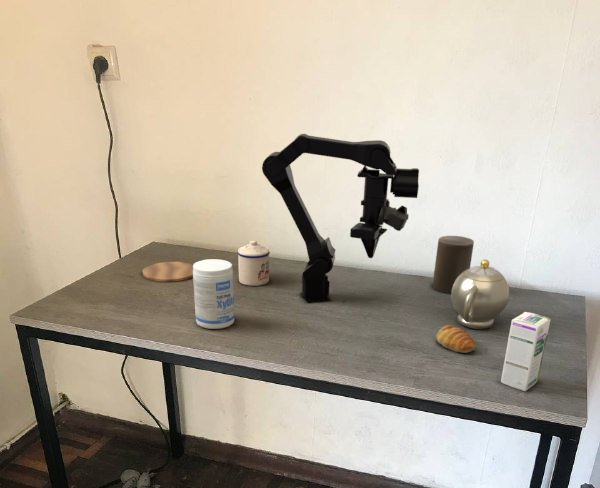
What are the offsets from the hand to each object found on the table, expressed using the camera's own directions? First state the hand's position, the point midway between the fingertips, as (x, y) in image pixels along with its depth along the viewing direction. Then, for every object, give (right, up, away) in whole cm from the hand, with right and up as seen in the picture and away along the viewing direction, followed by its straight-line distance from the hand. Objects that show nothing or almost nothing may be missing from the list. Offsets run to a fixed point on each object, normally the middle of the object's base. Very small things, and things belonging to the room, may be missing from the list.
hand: (370, 257), depth 165 cm
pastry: (+18, -24, -17) cm, 35 cm away
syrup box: (+27, -34, -33) cm, 54 cm away
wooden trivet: (-57, +1, +23) cm, 61 cm away
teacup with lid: (-31, -2, +19) cm, 37 cm away
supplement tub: (-39, -18, -8) cm, 44 cm away
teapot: (+25, -19, -7) cm, 32 cm away
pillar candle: (+24, -5, +16) cm, 30 cm away
